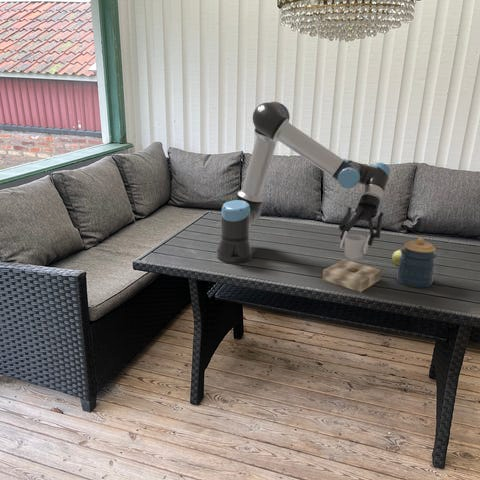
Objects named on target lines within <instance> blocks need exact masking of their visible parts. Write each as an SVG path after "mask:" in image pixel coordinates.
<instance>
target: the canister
mask: <svg viewBox="0 0 480 480" xmlns="http://www.w3.org/2000/svg"><path fill="white" fill-rule="evenodd" d="M400 250H401V253H402V254H401V257H400V258H399V260H400V261H399V265H398V268H397V272H396V280H397V282H399V283H400V284H402V285H404V286H408V287H410V288H417V289H418V288H419V289H423V288H424V289H425V288H428V287H430V286H431V285H432V283H433V280H434V275H435V274H434V273H435V267H436V259H437V257H438V254H437V252H436V250H437V249H436V247H435V246H433V244H432V243H430V242H427V241H425V239H424V238H423V237H418V238H417V239H416V240H415V239H414V240H413V239H412V240H409V241H407V242H405V243H403V247H402V248H401V249H400Z"/></svg>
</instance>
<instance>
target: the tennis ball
mask: <svg viewBox="0 0 480 480" xmlns="http://www.w3.org/2000/svg"><path fill="white" fill-rule="evenodd" d="M401 254H402V253H401V249H399V250H395V251H394V252H393V253H392V256H391V259H392V262H393V263H394V265H396V266H399V261H400V260H399V258H400V257H401Z"/></svg>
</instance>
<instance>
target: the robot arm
mask: <svg viewBox="0 0 480 480" xmlns="http://www.w3.org/2000/svg"><path fill="white" fill-rule="evenodd" d="M288 109H289V108H288V107H287V106H285V104H283V103H281V102H278V101H271V102H263V103H261V104H259V105H258V106H256V108H255V109H254V111H253V114H252V123H253V125H254V134H255V135H256V138H255V142H254V146H253V149H252V152H251V153H252V154H251V156H250V160H249V164H248V167H247V170H246V174H245V177H244V181H243V185H242V187H241V189H240V190H238V192H237V194H236V197H235V199H234V200H233V199H232V200H231V201H230V200H227V201H226V202H225V203H223V204H222V207H221V213H220V214H221V215H220V216H221V219H220V220H221V221H220V222H221V226H220V227H221V228H220V229H221V230H220V231H221V233H220V234H221V236H220V242H219V245H218V247H217V251H216V258H217V259H218V260H220V261H222V262H226V263H232V264H233V263H235V264H237V263H239V264H240V263H245V262H249V261H250V260H252V259H253V251H252V248H251V243H250V237H249V236H250V226H252V225H253V224H254V223H256V222H257V221H258V220H259V218H260V217H261V215H262V211H263V201H264V198H263V197H262V192H263V188H264V185H265V182H266V180H267V179H266V178H267V175H268V172H269V170H270V165H271V164H272V163H271V162H272V158H273V155H274V151H275V148H276V146H277V143H278V142H280V143H282V144H283V145H285V146H286V147H287V148H289V149H291V150H292V151H293V152H295V153H296V154H298V155H299V156H301V157H302V158H303V159H305V160H306V161H308V162H309V163H311V164H312V165H314V166H315V167H317V168H318V169H320V170H321V171H323V172H324V173H326V174H327V175H328V176H329V177H331V178H332V179H334V180H335V181H337V182H338V184H339V185H340V186H341V187H342V188H344V189H352V188H354V187H355V186H357V185H358V184H360V185H364V186H363V187H364V188H363V190H362V193H361V196H360V198H359V201H358V203H357V205H356V207H355V208H352V207H350V206H348V208H347V212H346V213H345V215H344V217H343V218H342V221H341V222H340V224H339V226H338V230H339V231H340V232H341V233H340V234H341V235H340V237H339V238H340V240H341V241H340V244H339V248H340V249H341V250H344V249H345V235H347V234H349V233H348V232H350V231H351V229H352V228H353V227H354V226H355V225H356V224H357V223H359V222H360V221H365V222H368V227H369V234H367V237H366V238H367V239H366V242H365V245H364V248H363V252H364V253H363V255H366V254H367V252H368V249H369V246H372V245H373V242H374V239H379V238H381V233H382V223H383V220H384V218H385V214H384V212H383V211H382V212H379V211H378V209H379V206H380V204H381V202H382V201H381V200H382V199H383V195H384V191H385V189H386V186H387V184H388V181H389V179H390V174H391V169H390V167H389V166H388V165H387V164H386V163H383V162H375V163H373V164H372V165H371V166H370V165H366V164H363V163H360V162H356V161H354V160H351V159H346V158H345V159H343V158H341V157H340V156H338V155H337V154H336V153H334V152H333V151H331V150H329V149H328V148H327V147H326V146H324V145H322V144H321V143H320V142H318V141H316V140H314V138H312V137H311V136H309V135H308V134H306V133H305V132H303V131H302V130H300V129H299V128H297V127H296V126H294V125H293V124H291V123H290V112H289V110H288ZM354 213H355V215H354ZM353 215H354V217H352V216H353ZM375 217H377V223H376V229H375V232H374V225H373V218H375Z"/></svg>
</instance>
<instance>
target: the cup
mask: <svg viewBox="0 0 480 480" xmlns="http://www.w3.org/2000/svg"><path fill="white" fill-rule="evenodd" d="M366 239H367V237H366V236H365V235H362V234H358V233H350V234H349V233H348V234H347V235H345V245H344V257H346V258H347V259H350V260H361V259H362V258H363V257H364V252H363V248H364V245H365V242H366Z"/></svg>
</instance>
